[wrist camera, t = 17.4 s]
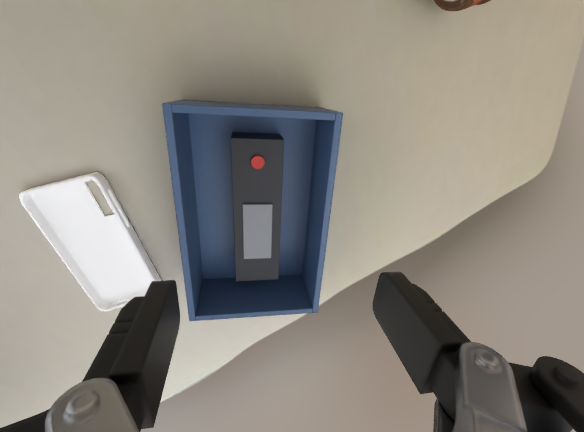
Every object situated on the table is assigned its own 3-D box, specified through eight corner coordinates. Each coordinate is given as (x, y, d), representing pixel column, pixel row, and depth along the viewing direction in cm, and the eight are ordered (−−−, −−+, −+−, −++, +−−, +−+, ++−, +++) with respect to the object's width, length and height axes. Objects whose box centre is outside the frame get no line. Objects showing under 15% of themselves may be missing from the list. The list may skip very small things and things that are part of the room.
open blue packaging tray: (199, 280, 33) (189, 321, 27) (181, 99, 25) (162, 103, 19) (305, 275, 35) (317, 312, 30) (322, 107, 27) (343, 113, 21)
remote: (236, 263, 33) (235, 283, 29) (232, 132, 26) (230, 138, 23) (275, 261, 33) (278, 281, 30) (280, 133, 27) (284, 140, 24)
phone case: (24, 189, 26) (105, 305, 33) (13, 194, 25) (100, 313, 31) (102, 170, 26) (166, 288, 33) (95, 174, 25) (163, 296, 32)
